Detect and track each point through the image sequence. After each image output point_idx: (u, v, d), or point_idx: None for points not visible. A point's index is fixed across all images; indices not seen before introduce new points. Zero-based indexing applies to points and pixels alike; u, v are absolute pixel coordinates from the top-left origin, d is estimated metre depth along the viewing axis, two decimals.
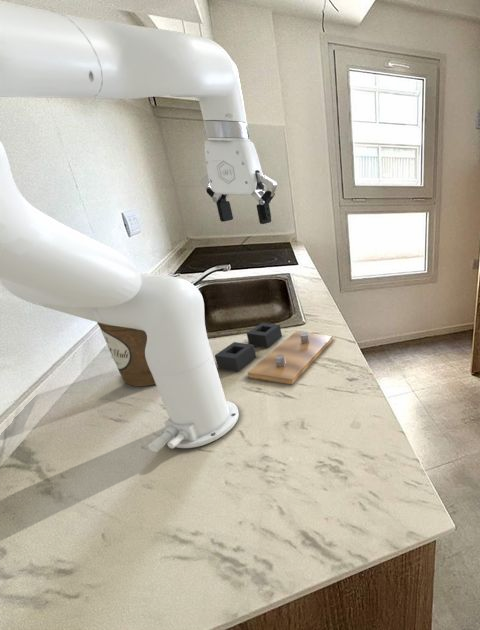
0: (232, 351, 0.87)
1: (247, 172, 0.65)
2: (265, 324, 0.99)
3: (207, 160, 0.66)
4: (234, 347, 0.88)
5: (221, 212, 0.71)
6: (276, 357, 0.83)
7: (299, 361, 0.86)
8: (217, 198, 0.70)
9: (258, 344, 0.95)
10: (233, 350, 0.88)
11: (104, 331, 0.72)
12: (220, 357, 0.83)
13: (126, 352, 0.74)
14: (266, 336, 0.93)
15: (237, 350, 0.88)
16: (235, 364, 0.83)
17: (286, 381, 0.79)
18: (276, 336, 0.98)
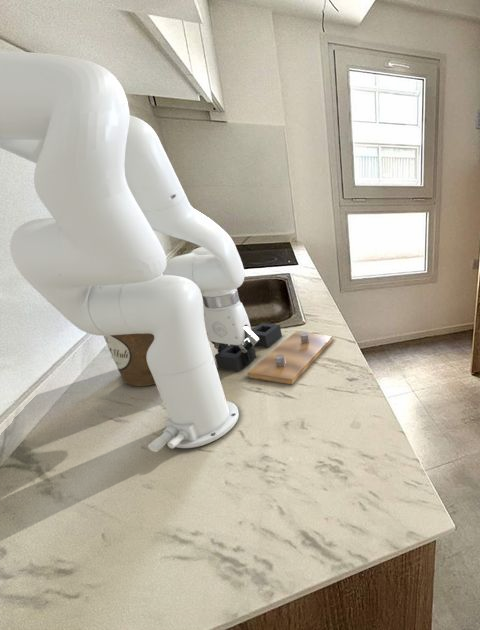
0: (232, 351, 0.87)
1: (237, 330, 0.79)
2: (265, 324, 0.99)
3: (204, 319, 0.80)
4: (234, 347, 0.88)
5: None
6: (276, 357, 0.83)
7: (299, 361, 0.86)
8: (217, 345, 0.85)
9: (258, 344, 0.95)
10: (233, 350, 0.88)
11: None
12: (220, 357, 0.83)
13: (126, 352, 0.74)
14: (266, 336, 0.93)
15: (237, 350, 0.88)
16: (235, 364, 0.83)
17: (286, 381, 0.79)
18: (276, 336, 0.98)
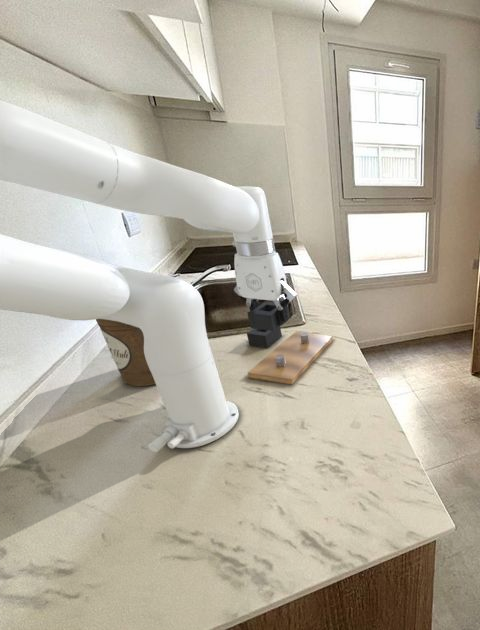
0: (265, 310, 0.79)
1: (273, 283, 0.72)
2: None
3: (236, 271, 0.72)
4: (266, 306, 0.80)
5: None
6: (276, 357, 0.83)
7: (299, 361, 0.86)
8: (250, 303, 0.77)
9: (258, 344, 0.95)
10: (266, 309, 0.80)
11: (104, 331, 0.72)
12: (253, 314, 0.75)
13: (126, 352, 0.74)
14: (266, 336, 0.93)
15: (270, 309, 0.80)
16: (270, 322, 0.75)
17: (286, 381, 0.79)
18: (276, 336, 0.98)
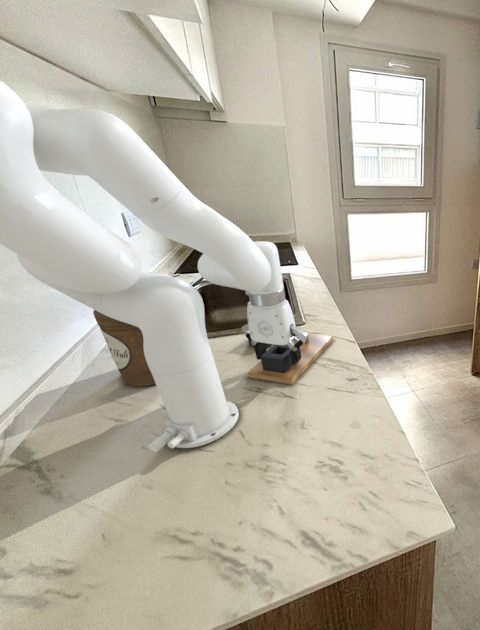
0: (276, 352, 0.84)
1: (283, 330, 0.76)
2: None
3: (249, 318, 0.77)
4: (278, 348, 0.85)
5: (258, 353, 0.82)
6: None
7: (299, 361, 0.86)
8: (255, 343, 0.81)
9: None
10: (277, 351, 0.85)
11: (104, 331, 0.72)
12: (266, 358, 0.80)
13: (126, 352, 0.74)
14: None
15: (281, 351, 0.85)
16: (282, 365, 0.80)
17: (286, 381, 0.79)
18: None
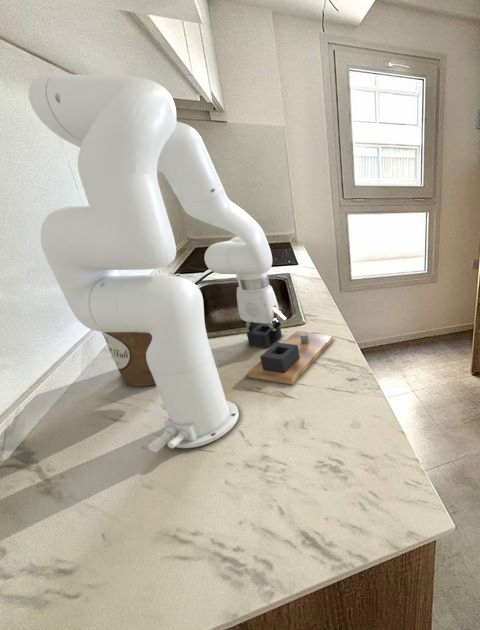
0: (276, 352, 0.84)
1: (267, 310, 0.90)
2: (265, 324, 0.99)
3: (238, 300, 0.91)
4: (278, 348, 0.85)
5: None
6: None
7: (299, 361, 0.86)
8: (249, 325, 0.95)
9: (258, 344, 0.95)
10: (277, 351, 0.85)
11: None
12: (266, 358, 0.80)
13: (126, 352, 0.74)
14: (266, 336, 0.93)
15: (281, 351, 0.85)
16: (282, 365, 0.80)
17: (286, 381, 0.79)
18: None
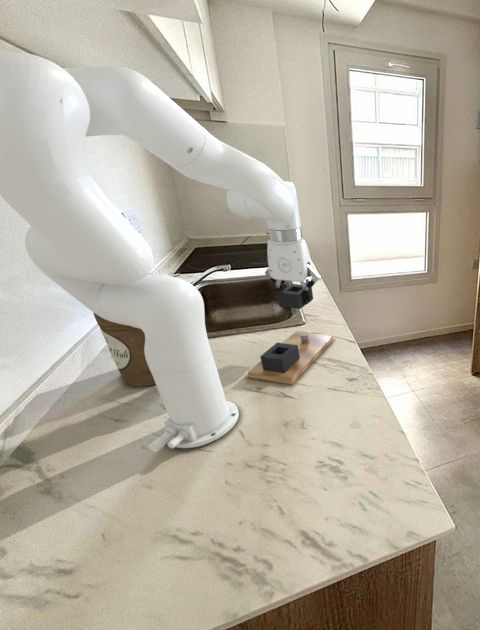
0: (276, 352, 0.84)
1: (301, 266, 0.82)
2: (295, 285, 0.91)
3: (269, 255, 0.83)
4: (278, 348, 0.85)
5: None
6: None
7: (299, 361, 0.86)
8: (279, 284, 0.87)
9: (289, 305, 0.87)
10: (277, 351, 0.85)
11: (104, 331, 0.72)
12: (266, 358, 0.80)
13: (126, 352, 0.74)
14: (299, 295, 0.85)
15: (281, 351, 0.85)
16: (282, 365, 0.80)
17: (286, 381, 0.79)
18: None
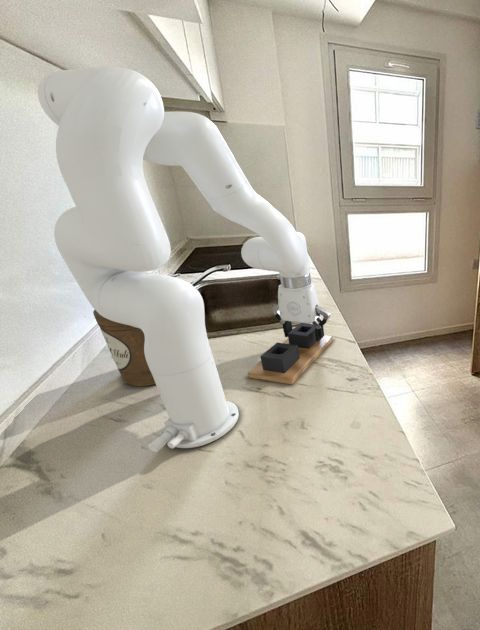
0: (276, 352, 0.84)
1: (310, 309, 0.87)
2: (304, 324, 0.96)
3: (279, 299, 0.87)
4: (278, 348, 0.85)
5: (286, 331, 0.93)
6: None
7: (299, 361, 0.86)
8: (283, 322, 0.92)
9: (299, 345, 0.92)
10: (277, 351, 0.85)
11: (104, 331, 0.72)
12: (266, 358, 0.80)
13: (126, 352, 0.74)
14: (308, 336, 0.91)
15: (281, 351, 0.85)
16: (282, 365, 0.80)
17: (286, 381, 0.79)
18: None
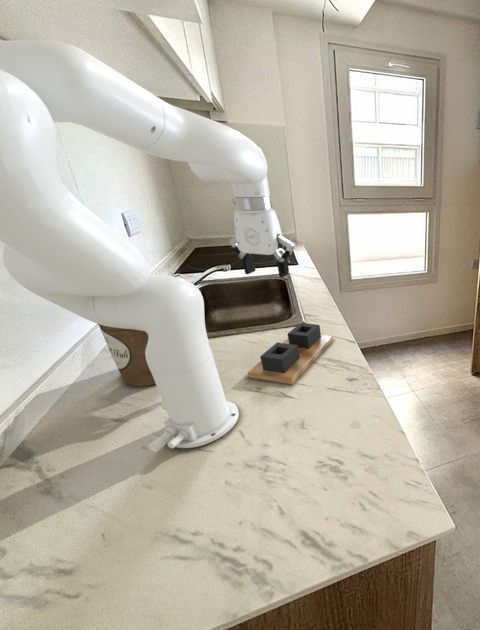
0: (276, 352, 0.84)
1: (270, 237, 0.77)
2: (304, 324, 0.96)
3: (236, 226, 0.78)
4: (278, 348, 0.85)
5: (246, 267, 0.83)
6: None
7: (299, 361, 0.86)
8: (243, 255, 0.82)
9: (299, 345, 0.92)
10: (277, 351, 0.85)
11: (104, 331, 0.72)
12: (266, 358, 0.80)
13: (126, 352, 0.74)
14: (308, 336, 0.91)
15: (281, 351, 0.85)
16: (282, 365, 0.80)
17: (286, 381, 0.79)
18: (316, 336, 0.95)
